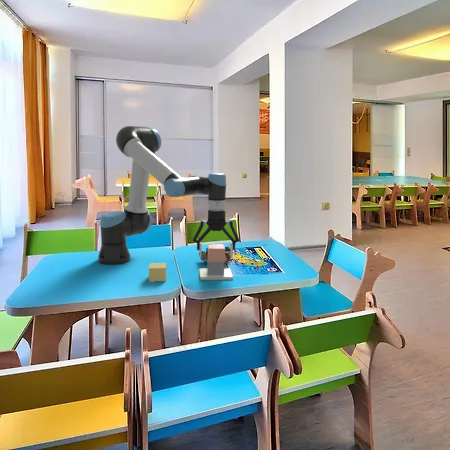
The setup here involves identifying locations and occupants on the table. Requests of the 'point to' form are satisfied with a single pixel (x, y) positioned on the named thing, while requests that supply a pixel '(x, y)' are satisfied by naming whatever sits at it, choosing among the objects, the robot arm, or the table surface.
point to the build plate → (205, 275)
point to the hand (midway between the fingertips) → (215, 257)
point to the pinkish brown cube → (216, 253)
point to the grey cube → (215, 268)
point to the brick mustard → (157, 272)
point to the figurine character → (205, 255)
